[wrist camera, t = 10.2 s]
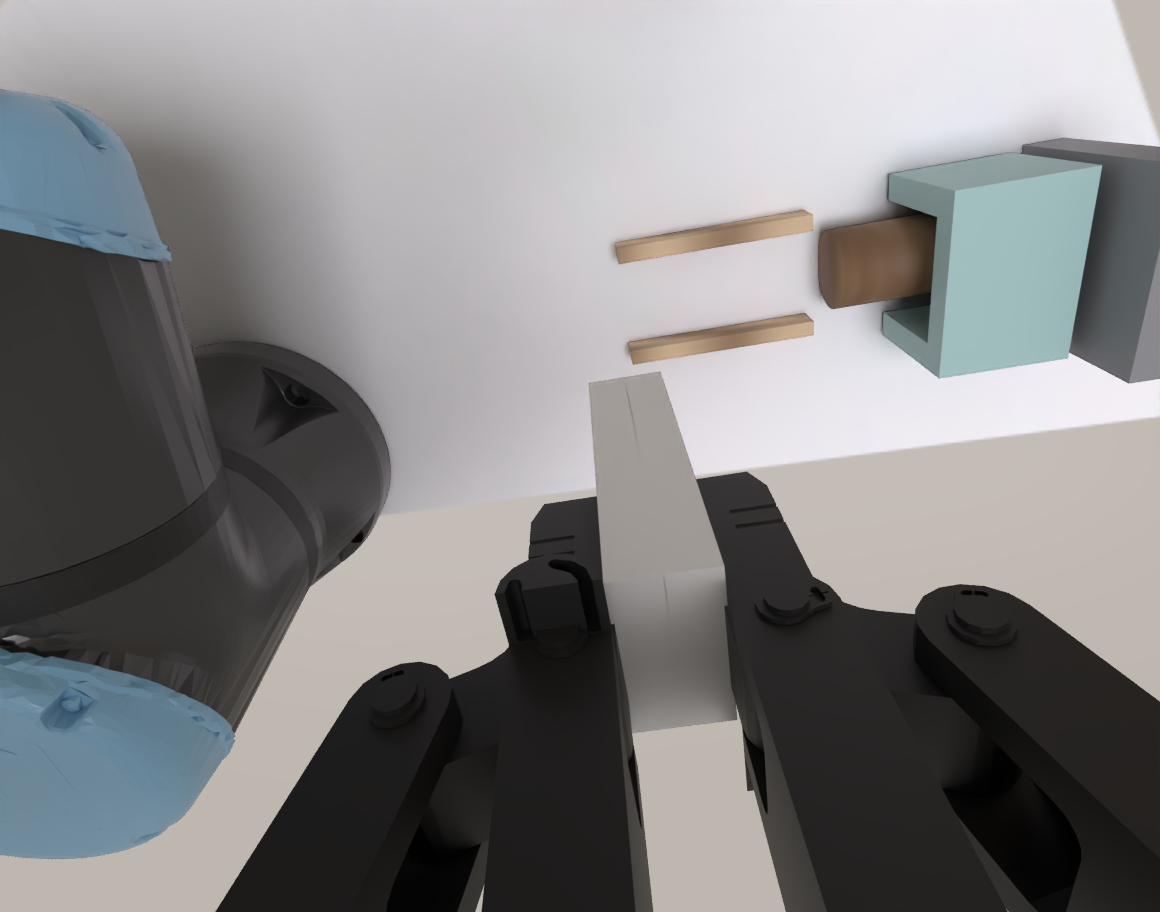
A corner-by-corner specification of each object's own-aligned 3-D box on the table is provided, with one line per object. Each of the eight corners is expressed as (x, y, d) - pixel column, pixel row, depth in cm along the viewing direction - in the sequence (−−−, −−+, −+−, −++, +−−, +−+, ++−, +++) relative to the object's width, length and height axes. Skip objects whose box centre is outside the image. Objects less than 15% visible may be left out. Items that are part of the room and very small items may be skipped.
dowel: (818, 302, 38) (844, 315, 34) (815, 227, 37) (842, 232, 33) (965, 278, 38) (1007, 288, 34) (968, 201, 36) (1013, 203, 32)
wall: (1001, 316, 39) (1129, 383, 30) (1023, 145, 35) (1179, 163, 26) (1037, 311, 39) (1176, 376, 30) (1063, 137, 34) (1234, 153, 26)
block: (882, 334, 39) (939, 378, 33) (889, 173, 35) (955, 190, 29) (990, 317, 38) (1067, 358, 33) (1010, 152, 34) (1102, 165, 29)
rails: (630, 355, 40) (632, 364, 38) (615, 242, 37) (616, 248, 35) (805, 326, 39) (813, 335, 38) (804, 209, 36) (813, 214, 35)
